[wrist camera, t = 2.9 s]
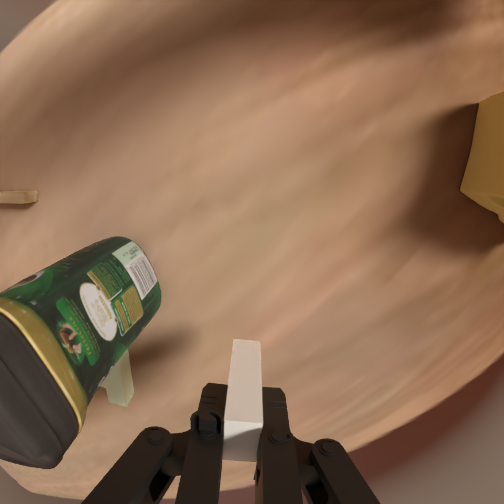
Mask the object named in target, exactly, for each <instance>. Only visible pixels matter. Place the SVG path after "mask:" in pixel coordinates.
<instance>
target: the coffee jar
mask: <svg viewBox="0 0 504 504" xmlns="http://www.w3.org/2000/svg"><path fill="white" fill-rule="evenodd" d="M160 303H161V290H160V286H159V283H158V280H157V277H156V274H155V272H154V269H153V267H152V265H151V263H150V261H149V260H148V258H147V256H146V255H145V253H144V252H143V250H142V249H141V248H140V247H139V246H138V245H137V244H136V243H135V242H133V241H132V240H130V239H128V238H124V237H111V238H108V239H104V240H102V241H99V242H96V243H94V244H92V245H90V246H88V247H85V248H83V249H81V250H79V251H77V252H75V253H73V254H71V255H69V256H67V257H66V258H64V259H62V260H60V261H58V262H56V263H54V264H52V265H50V266H48V267H46V268H44V269H42V270H41V271H39V272H37V273H35V274H33V275H31V276H30V277H28V278H26V279H23V280H22V281H20V282H19V283H17V284H15V285H13V286H12V287H10V288H8V289H6V290H5V291H3V292H1V293H0V459H2V460H5V461H8V462H12V463H15V464H20V465H24V466H29V467H35V468H42V469H52V468H55V467H56V466H57V465H58V464H59V463H60V461H61V460H62V458H63V455H64V453H65V452H66V451H67V449H68V448H69V447H70V445H71V444H72V442H73V441H74V439H75V438H76V437H77V435H78V434H79V433H80V431H81V429H82V426H83V424H84V420H85V416H86V411H87V407H88V405H89V403H90V401H91V399H92V397H93V395H94V394H95V392H96V391H97V389H98V388H99V386H100V385H101V384H102V382H103V381H104V379H105V378H106V377H107V375H108V374H109V373H110V371H111V370H112V368H113V367H114V366H115V364H116V363H117V362H118V360H119V359H120V358H121V356H122V355H123V354H124V352H125V351H126V350H127V349H128V347H129V346H130V345H131V344H132V342H133V341H134V340H135V339H136V338H137V336H138V335H139V334H140V333H141V332H142V330H143V329H144V328H145V327H146V325H147V324H148V323H149V322H150V320H151V319H152V318H153V316H154V315H155V314H156V312H157V310H158V309H159V306H160Z"/></svg>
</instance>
